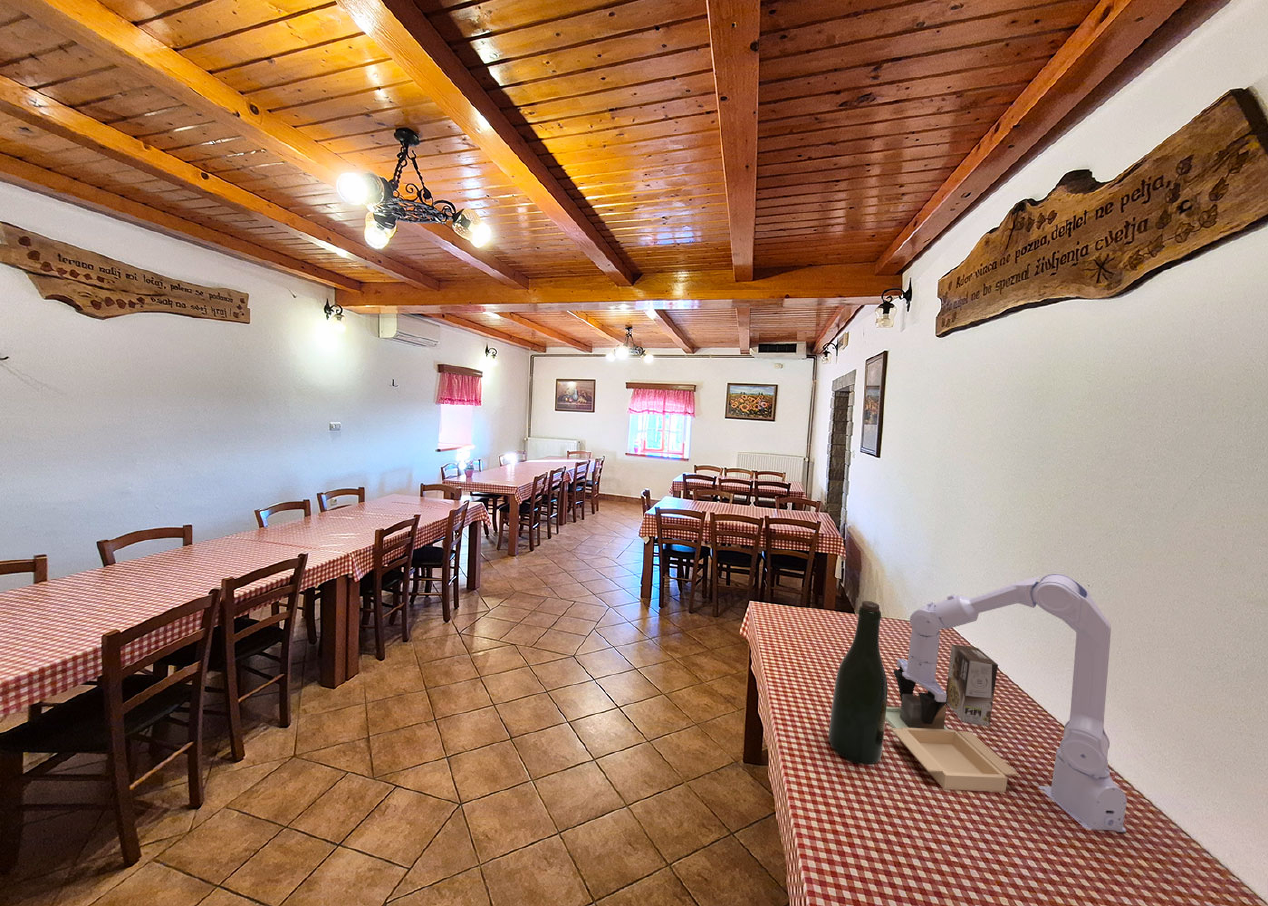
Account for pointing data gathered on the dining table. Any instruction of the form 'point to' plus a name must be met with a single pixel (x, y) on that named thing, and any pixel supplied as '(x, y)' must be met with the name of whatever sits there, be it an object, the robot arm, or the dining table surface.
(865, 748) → the beer bottle
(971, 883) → the dining table surface
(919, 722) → the walnut block
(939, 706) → the robot arm
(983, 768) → the carton
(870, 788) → the dining table surface
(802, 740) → the dining table surface
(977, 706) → the coffee box
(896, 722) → the green tray
